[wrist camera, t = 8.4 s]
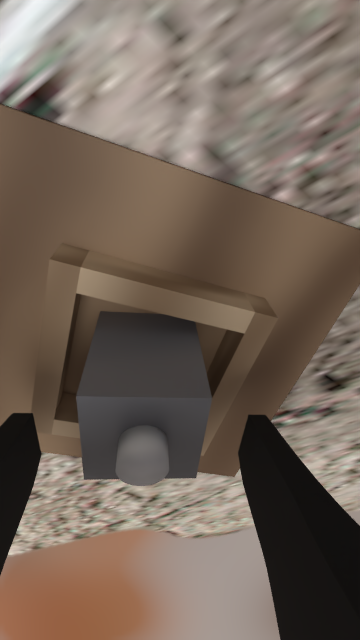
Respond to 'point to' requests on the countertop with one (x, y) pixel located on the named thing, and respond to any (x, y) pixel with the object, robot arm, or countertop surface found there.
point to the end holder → (155, 277)
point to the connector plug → (143, 399)
